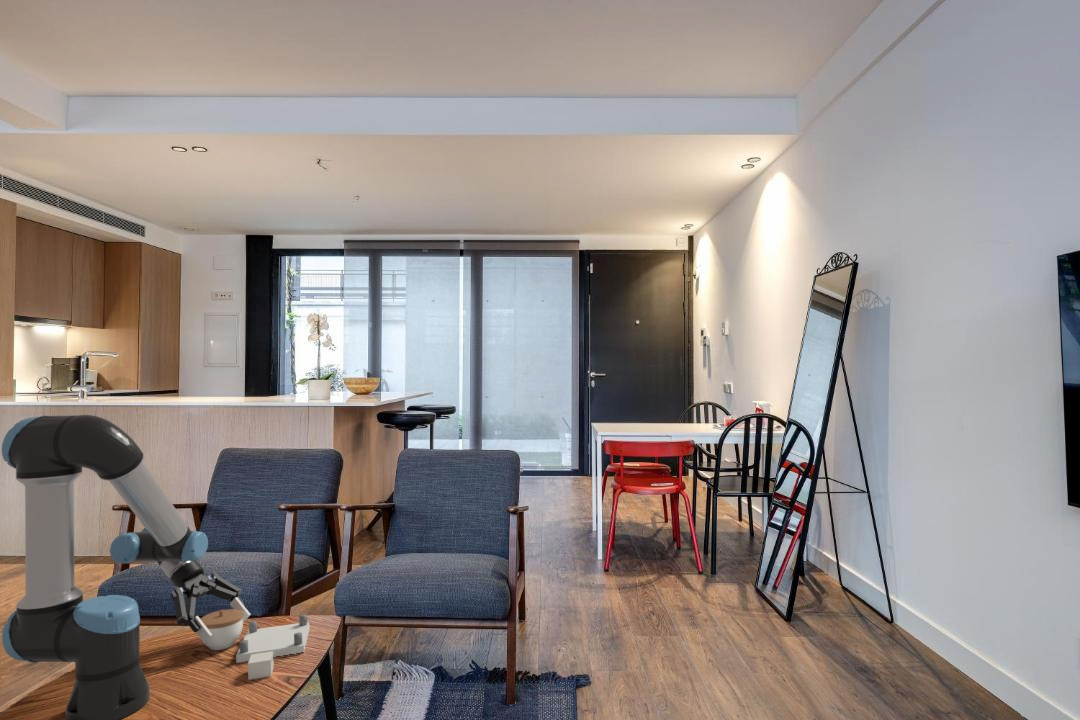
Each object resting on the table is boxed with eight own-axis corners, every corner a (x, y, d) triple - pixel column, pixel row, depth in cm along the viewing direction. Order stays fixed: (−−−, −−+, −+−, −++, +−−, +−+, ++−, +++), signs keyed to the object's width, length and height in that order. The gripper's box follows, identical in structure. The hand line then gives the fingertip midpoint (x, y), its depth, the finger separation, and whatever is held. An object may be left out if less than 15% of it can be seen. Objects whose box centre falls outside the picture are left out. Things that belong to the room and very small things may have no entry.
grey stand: (236, 663, 154) (236, 645, 155) (248, 637, 170) (248, 621, 170) (304, 653, 159) (303, 635, 159) (309, 628, 174) (309, 613, 174)
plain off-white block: (248, 680, 146) (248, 663, 146) (251, 670, 150) (251, 654, 150) (271, 676, 147) (270, 659, 147) (273, 667, 152) (273, 651, 152)
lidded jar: (252, 637, 170) (251, 603, 170) (227, 655, 159) (226, 618, 159) (217, 636, 171) (216, 602, 172) (190, 653, 161) (189, 617, 161)
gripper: (150, 574, 157) (198, 638, 152) (225, 547, 181) (269, 601, 176) (134, 594, 158) (182, 658, 154) (211, 564, 182) (254, 618, 177)
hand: (228, 628), depth 165 cm, fingers open, 13 cm apart
